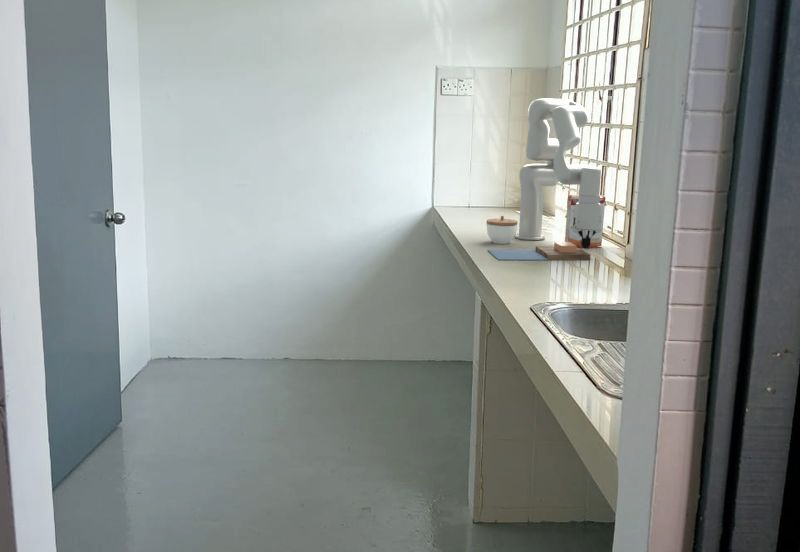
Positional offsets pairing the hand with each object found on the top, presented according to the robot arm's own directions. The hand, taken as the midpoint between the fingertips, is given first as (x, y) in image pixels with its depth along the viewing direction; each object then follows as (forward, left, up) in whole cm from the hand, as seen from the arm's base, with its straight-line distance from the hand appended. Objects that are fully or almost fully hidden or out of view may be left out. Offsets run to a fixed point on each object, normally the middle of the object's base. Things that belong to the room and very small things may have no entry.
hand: (585, 247), depth 305 cm
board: (0, -9, -3) cm, 9 cm away
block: (0, -8, 0) cm, 8 cm away
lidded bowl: (-30, -26, -3) cm, 40 cm away
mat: (0, -27, -3) cm, 27 cm away
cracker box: (-21, +6, -3) cm, 22 cm away
